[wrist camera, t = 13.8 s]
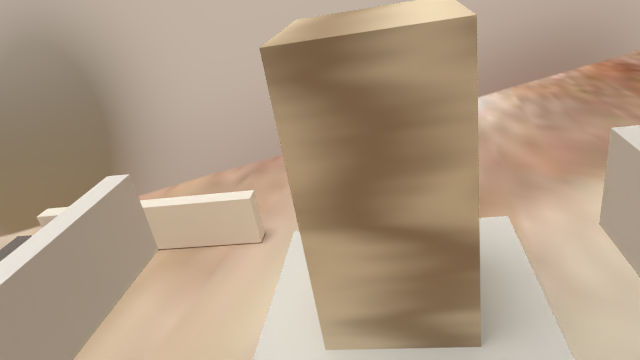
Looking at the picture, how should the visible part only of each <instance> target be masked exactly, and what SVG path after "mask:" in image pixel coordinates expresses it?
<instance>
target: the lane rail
mask: <svg viewBox="0 0 640 360" xmlns="http://www.w3.org/2000/svg"><path fill="white" fill-rule="evenodd" d="M140 203H141V205H142V208H143V210H144V213H145V216H146V218H147V221H148V223H149V226H150V229H151V231H152V234H153V236H154V239H155V242H156V244H157V247H158V249H171V248H186V247H201V246H216V245H231V244H245V243H260V242H262V239H263V237H264V235H265V231H264V227H263V223H262V219H261V215H260V211H259V207H258V203H257V200H256V196H255V192H254V190H251V191H240V192H229V193H218V194H207V195H196V196H185V197H173V198H162V199H151V200H140ZM67 208H68V207H63V208H52V209H47V210H45V211H44V212H43V213H41V214H40V215H39V216H38V217H37V218H38V220H39V222H40V224H41V226H42V228H43V227H44V226H45V225H47V224H48V223H49V222H51V221H52V220H53V219H54V218H56V217H57V216H58V215H59V214H61V213H62V212H63V211H64V210H66V209H67Z"/></svg>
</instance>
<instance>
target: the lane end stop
mask: <svg viewBox="0 0 640 360" xmlns="http://www.w3.org/2000/svg"><path fill="white" fill-rule="evenodd" d="M30 237H32V236H31V235H30V236H18V237H16V238H15V239H14V240H13V241H11V242H10V243H9V244H7V245H6V246H5V247H4V248H2V249H1V250H0V261H1V260H3V259H4V258H5V257H6V256H8V255H9V254H10V253H12V252H13V251H14V250H15V249H17V248H18V247H19V246H20V245H22V244H23V243H24V242H25V241H27V240H28V239H29V238H30Z"/></svg>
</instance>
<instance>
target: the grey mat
mask: <svg viewBox="0 0 640 360" xmlns="http://www.w3.org/2000/svg"><path fill="white" fill-rule="evenodd" d="M479 229H480V301H481V347H454V348H404V349H353V350H325V346H324V341H323V337H322V332H321V327H320V323H319V318H318V314H317V309H316V305H315V300H314V295H313V291H312V286H311V282H310V277H309V272H308V268H307V263H306V259H305V254H304V250H303V245H302V240H301V236H300V231H294V234H293V237H292V240H291V243H290V246H289V249H288V252H287V255H286V258H285V262H284V265H283V268H282V271H281V274H280V277H279V280H278V283H277V286H276V289H275V293H274V296H273V299H272V302H271V305H270V308H269V311H268V314H267V317H266V320H265V324H264V327H263V330H262V333H261V336H260V339H259V342H258V345H257V348H256V351H255V354H254V358H253V360H575V359H574V357H573V355H572V353H571V350H570V348H569V346H568V344H567V342H566V340H565V338H564V335H563V333H562V331H561V329H560V327H559V325H558V323H557V320H556V318H555V316H554V314H553V312H552V310H551V307H550V305H549V303H548V301H547V299H546V297H545V295H544V292H543V290H542V288H541V286H540V284H539V282H538V280H537V277H536V275H535V273H534V271H533V269H532V267H531V265H530V262H529V260H528V258H527V256H526V254H525V252H524V249H523V247H522V245H521V243H520V241H519V239H518V237H517V234H516V232H515V230H514V228H513V226H512V224H511V222H510V219H509V217H508V216H501V217H487V218H479Z"/></svg>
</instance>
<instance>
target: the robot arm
mask: <svg viewBox="0 0 640 360" xmlns="http://www.w3.org/2000/svg"><path fill="white" fill-rule="evenodd" d="M599 224H600V225H601V227H602V228H603V229H604V231H605V232H606V233H607V235H608V236H609V237H610V239H611V240H612V241H613V242H614V244H615V245H616V246H617V248H618V249H619V250H620V252H621V253H622V254H623V256H624V257H625V258H626V260H627V261H628V262H629V263H630V265H631V266H632V267H633V269H634V270H635V271H636V273H637V274H638V275H639V277H640V125H637V126H626V127H616V128H611V133H610V141H609V149H608V157H607V165H606V174H605V182H604V190H603V198H602V206H601V215H600V223H599ZM158 250H159V249H158V247H157V244H156V242H155V239H154V236H153V234H152V231H151V229H150V226H149V223H148V221H147V218H146V216H145V213H144V210H143V208H142V205H141V203H140V200H139V197H138V195H137V192H136V190H135V187H134V185H133V182H132V179H131V177H130V175H129V174H128V175H118V176H107V177H106V178H105V179H103V180H102V181H101V182H100V183H98V184H97V185H96V186H95V187H94V188H92V189H91V190H90V191H88V192H87V193H86V194H84V195H83V196H82V197H81V198H80V199H78V200H77V201H76V202H74V203H73V204H72V205H71V206H69V207H68V208H67V209H66V210H64V211H63V212H62V213H61V214H59V215H58V216H57V217H56V218H54V219H53V220H52V221H51V222H49V223H48V224H47V225H45V226H44V227H43V228H42V229H40V230H39V231H38V232H37V233H35V234H34V235H33V236H32V237H30V238H29V239H28V240H27V241H25V242H24V243H23V244H22V245H20V246H19V247H18V248H17V249H15V250H14V251H13V252H12V253H10V254H9V255H8V256H6V257H5V258H4V259H3V260H1V261H0V360H73V359H74V358H75V356H76V355H77V354H78V353H79V351H80V350H81V349H82V347H83V346H84V345H85V344H86V342H87V341H88V340H89V338H90V337H91V336H92V335H93V333H94V332H95V331H96V329H97V328H98V327H99V326H100V324H101V323H102V322H103V320H104V319H105V318H106V317H107V315H108V314H109V313H110V311H111V310H112V309H113V308H114V306H115V305H116V304H117V302H118V301H119V300H120V299H121V297H122V296H123V295H124V293H125V292H126V291H127V290H128V288H129V287H130V286H131V284H132V283H133V282H134V281H135V279H136V278H137V277H138V275H139V274H140V273H141V272H142V270H143V269H144V268H145V266H146V265H147V264H148V263H149V261H150V260H151V259H152V257H153V256H154V255H155V254H156V252H157V251H158Z"/></svg>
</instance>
